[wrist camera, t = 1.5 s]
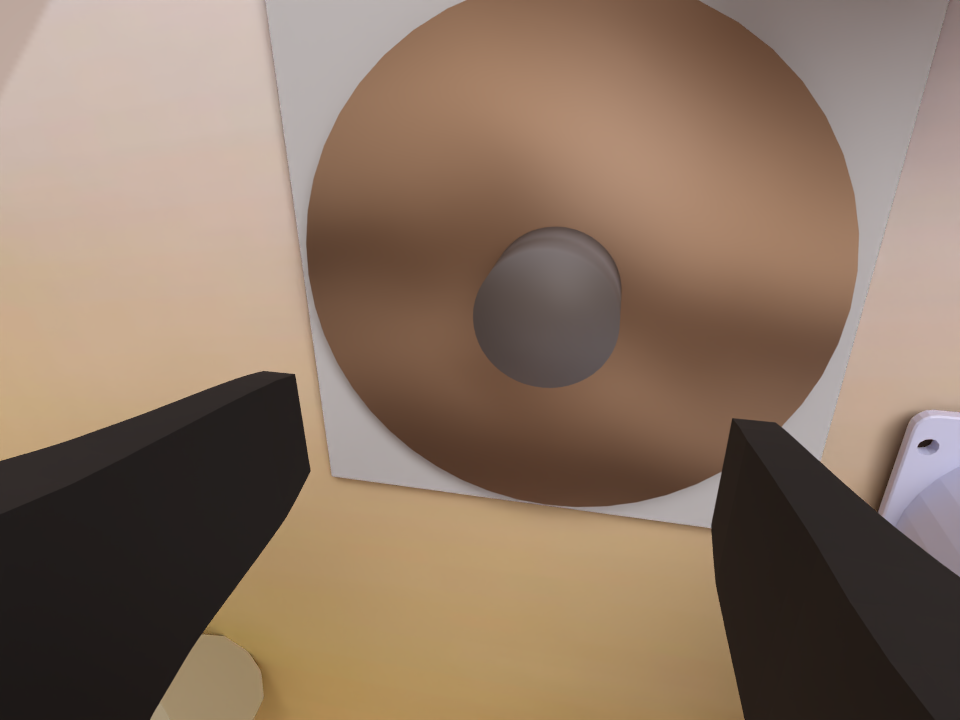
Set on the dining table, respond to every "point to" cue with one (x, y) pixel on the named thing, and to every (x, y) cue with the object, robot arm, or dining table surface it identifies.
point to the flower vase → (213, 684)
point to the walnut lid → (581, 244)
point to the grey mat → (753, 3)
